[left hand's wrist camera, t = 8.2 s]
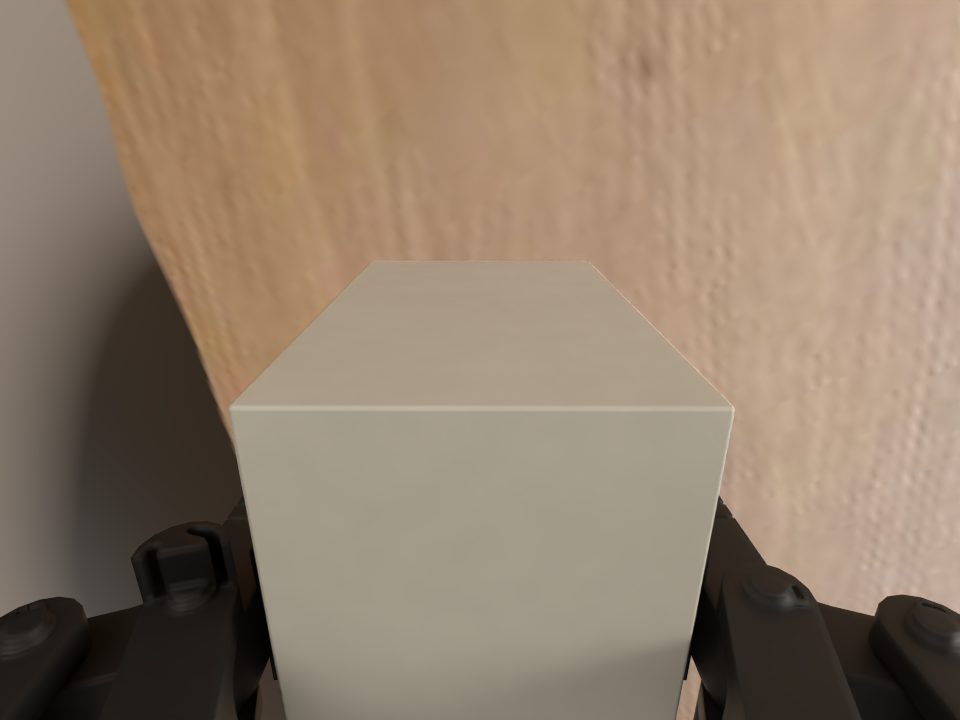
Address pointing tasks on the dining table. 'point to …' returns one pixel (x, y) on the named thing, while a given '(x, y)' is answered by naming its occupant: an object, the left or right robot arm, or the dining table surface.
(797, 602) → the left robot arm
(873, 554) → the dining table surface
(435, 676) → the bar
